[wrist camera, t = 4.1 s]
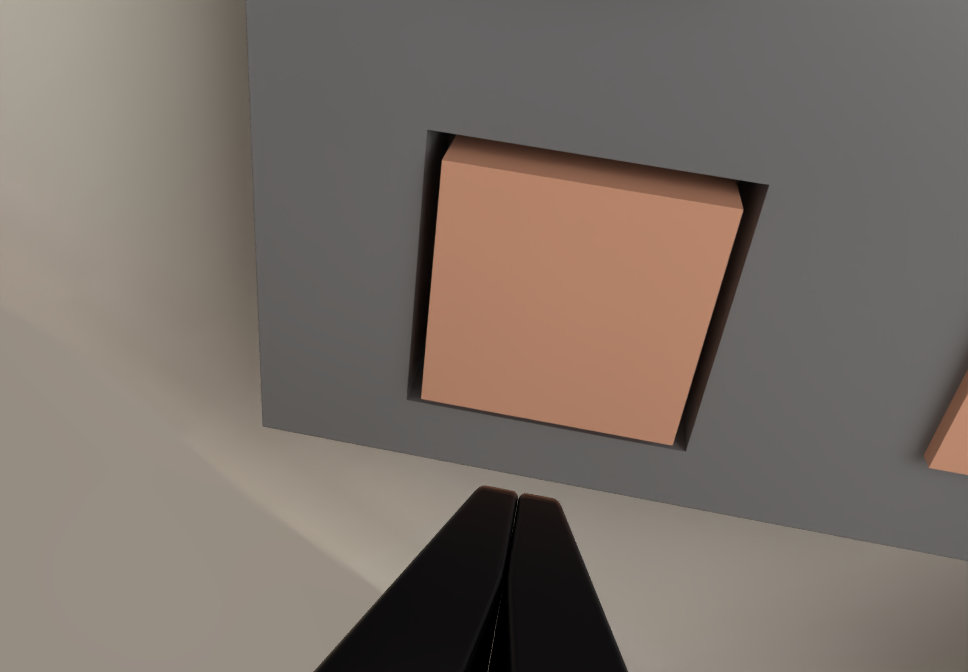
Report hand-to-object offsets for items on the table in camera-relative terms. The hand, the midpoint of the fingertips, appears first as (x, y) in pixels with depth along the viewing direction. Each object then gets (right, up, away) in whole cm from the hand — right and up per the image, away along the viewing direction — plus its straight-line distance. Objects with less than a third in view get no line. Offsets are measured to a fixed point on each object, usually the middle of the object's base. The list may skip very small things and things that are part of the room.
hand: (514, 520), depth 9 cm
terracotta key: (+1, +3, +6) cm, 7 cm away
